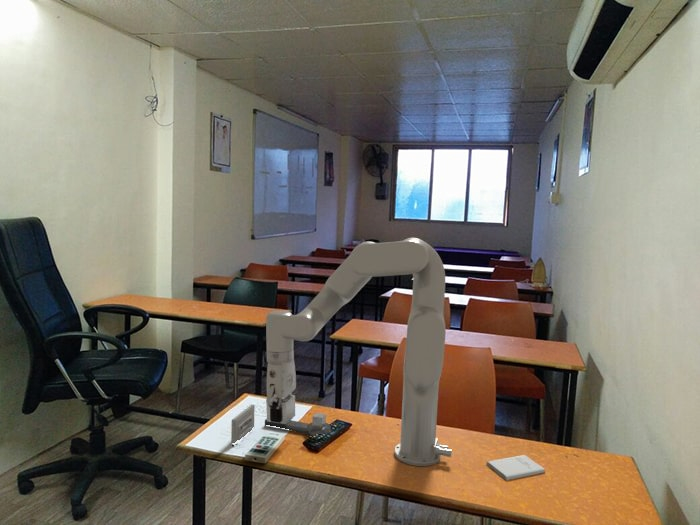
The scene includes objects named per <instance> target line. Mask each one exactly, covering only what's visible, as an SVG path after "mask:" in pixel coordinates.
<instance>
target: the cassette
mask: <svg viewBox="0 0 700 525" xmlns="http://www.w3.org/2000/svg"><path fill="white" fill-rule="evenodd" d="M253 427H254V428H255V405H254V404H251V405H249V406H247V407H246V408H245V409H244V410H243V411H242V412H240V413H239V414H237V415H236V416H235V417H233V418H232V419H231V430H230V431H231V436H230V437H231V440H230V441H231V443H235V442H236V441H237V440H240V439H241V438H242V437H244V436H245V435H246V434H247V433H248V432H250V431H251V430H252V428H253ZM252 431H253V430H252ZM231 443H230V444H231Z"/></svg>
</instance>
